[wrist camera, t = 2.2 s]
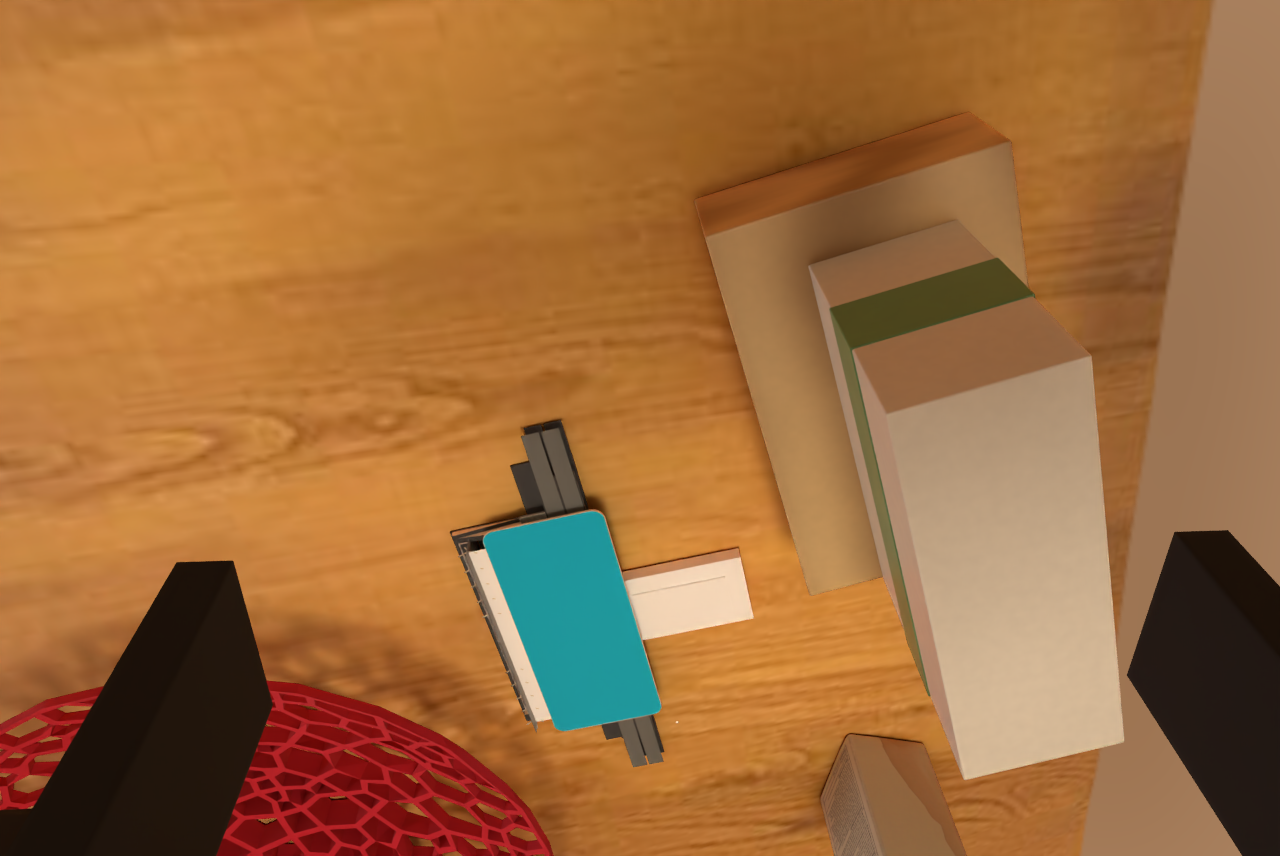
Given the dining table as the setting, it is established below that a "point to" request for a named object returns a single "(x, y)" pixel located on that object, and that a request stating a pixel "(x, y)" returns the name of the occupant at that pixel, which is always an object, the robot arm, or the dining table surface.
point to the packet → (980, 492)
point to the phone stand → (586, 603)
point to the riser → (789, 315)
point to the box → (887, 801)
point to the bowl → (323, 781)
